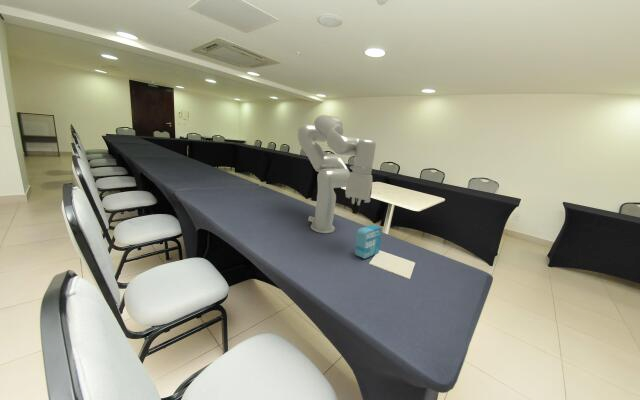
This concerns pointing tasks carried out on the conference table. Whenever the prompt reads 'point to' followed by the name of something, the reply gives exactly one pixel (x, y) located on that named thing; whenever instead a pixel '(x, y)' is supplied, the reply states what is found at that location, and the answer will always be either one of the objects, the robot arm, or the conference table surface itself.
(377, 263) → the beige mat
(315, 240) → the conference table surface
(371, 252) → the light blue flat box
